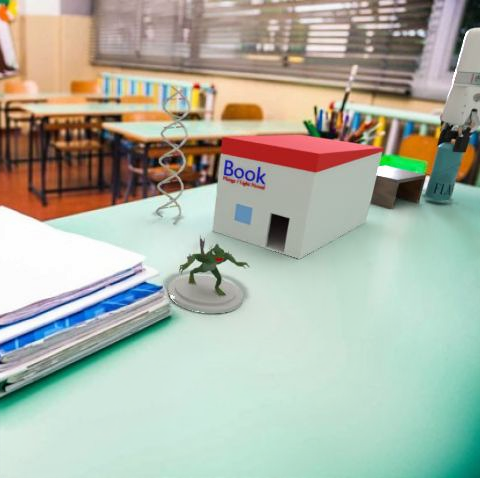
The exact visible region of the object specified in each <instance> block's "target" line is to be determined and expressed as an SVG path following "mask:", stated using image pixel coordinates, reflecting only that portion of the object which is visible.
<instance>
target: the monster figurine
mask: <svg viewBox="0 0 480 478" xmlns="http://www.w3.org/2000/svg"><path fill="white" fill-rule="evenodd" d="M205 244H206V237H204V238H202V237H201V235H199V248H200V253H192V254H190V253H188V254H189V255H188V256H186V259H187V261H186V262H185V263H183V264H180V265H179V269H178V272H179V273H180V274H181V275H182V274H183V272H184V271H186V270H187V269H188V268H189V267H190V266H191V265H192V264H193V263H194V262H195V261H197V262H199V263H201V264H200V265H199V266H198V267H194V268H193V269H191V270H190V272H189V275H184V276H180V277H178V278H176V279H174V280H171V282H170V283H169V285H168V289H167V294H168V293H169V294H170V295H173V296H175V299H173V300H174V301H175V302H176V303H177V304H178V305H180V306H182V307H184V308H186V309H190V310H193V311H199V312H204V313H224V314H226V313H225V312H228V313H231V312H230V311H232V310H234V311H236V310H237V309H236V308H238V307H239V306H240V307H241V305H242V304H241V303H243V299H244V297H243V296H244V295H243V292H242V291H241V289H240V288H239V287H238V286H237V285H235V284H234V283H232V282H230V281H228V280H225V279H222V275H221V272H220V270H219V268H218V267H217V266H219V265H221V264H222V263H225V262H227V261H229V262H231V263H232V264H234V265H235V266H237V267H239V268H240V267H242V268H244V269H247V268H246V267H245V266H247V267H248V268H250V265H249V264H248V262H247V261H246V262H245V261H237V260H236V259H235V257H234V256H233V254H232V253H230V251H228V252H227V251H225V250H224V249H223V248H222V247H220V245H219V243H214V246H213V244H212V246H211V245H209V246H210V248H208V249H209V251H207V252H206V253H205V250H204V249H205ZM207 272H211V274H212V275H213V276H209V275H204V274H203V275H201V274H200V275H199V274H198V273H207ZM178 305H177V306H178ZM180 306H179V307H180ZM182 307H181V308H182ZM240 307H239V308H240ZM184 308H183V309H184ZM239 308H238V309H239ZM186 309H185V310H186ZM235 309H236V310H235ZM193 311H192V312H193ZM232 312H233V311H232Z"/></svg>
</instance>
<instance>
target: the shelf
mask: <svg viewBox="0 0 480 478" xmlns="http://www.w3.org/2000/svg"><path fill="white" fill-rule="evenodd" d="M426 178H427V174H424V173H420V172H415V171H410V170H406V169H402V168H398V167H393V166H388V165H381V166H380V165H379V168H378V172H377V176H376V181H375V185H374V189H373V194H372V198H371V202H370V205H374V206H377V207H381V208H385V209H388V210H392V209H393V208H394V206H395V201H396V199H398V200H402V201H407V202H411V203H414V204H420V202H421V201H420V200H421V197H422V194H423V190H424V186H425V182H426Z"/></svg>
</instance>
